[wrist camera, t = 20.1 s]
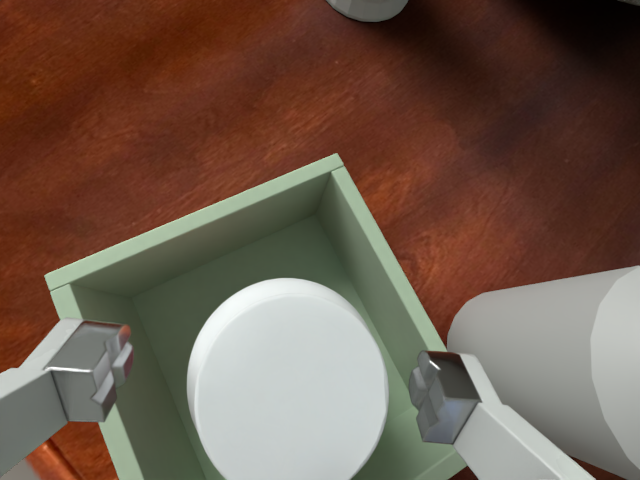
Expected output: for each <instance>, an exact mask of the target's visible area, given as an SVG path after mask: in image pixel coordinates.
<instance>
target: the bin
mask: <svg viewBox="0 0 640 480" xmlns="http://www.w3.org/2000/svg"><path fill="white" fill-rule="evenodd" d="M343 166H344V164H343V162H342V161H341V159H340V157H339V155H338V154H337V153H336V154H333V155H331V156H328V157H326V158H324V159H321V160H319V161H316V162H314V163H312V164H309V165H307V166H304V167H302V168H300V169H297V170H295V171H292V172H290V173H288V174H285V175H283V176H280V177H278V178H276V179H273V180H271V181H268V182H266V183H264V184H261V185H259V186H256V187H254V188H252V189H249V190H247V191H244V192H242V193H240V194H237V195H235V196H232V197H230V198H228V199H225V200H223V201H220V202H218V203H216V204H213V205H211V206H208V207H206V208H204V209H201V210H199V211H196V212H194V213H192V214H189V215H187V216H184V217H182V218H180V219H177V220H175V221H172V222H170V223H168V224H165V225H163V226H160V227H158V228H156V229H153V230H151V231H148V232H146V233H144V234H141V235H139V236H137V237H134V238H132V239H129V240H127V241H125V242H122V243H120V244H117V245H115V246H113V247H110V248H108V249H105V250H103V251H101V252H98V253H96V254H93V255H91V256H89V257H86V258H84V259H81V260H79V261H77V262H74V263H72V264H69V265H67V266H65V267H62V268H60V269H57V270H55V271H53V272H50V273H48V274H45V276H44V277H45V279H46V282H47V285H48V287H49V290H50V291H51V292H50V294H51V297H52V299H53V302H54V305H55V307H56V310H57V313H58V315H59V318H60V320H62V319H64V318H66V317H69V318H78V319H86V320H87V319H90V320H98V321H107V322H116V323H125V324H128V325H130V330H131V336H130V338H129V339H128V342H129V343H130V344H131V345H132V346H133V348H134V362H133V365H132V369H131V372H130V374H129V376H128V378H127V380H126V382H125V383H124V384H123V385H121V386H120V387H118V388H117V389H116V393H117V400H116V402H115V403H114V405H113V407H112V409H111V411H110V413H109V415H108V417H107V419H106V420H105V422H98V423H99V426H100V429H101V431H102V434H103V437H104V439H105V442H106V445H107V448H108V450H109V453H110V456H111V458H112V461H113V464H114V466H115V469H116V472H117V475H118V477H119V480H227V479H225V478H224V477H223V476H222V475H221V474H220V472H219V471H218V470H217V469H216V467H215V466H214V465H213V464H212V462H211V460H210V458H209V457H208V455H207V454H206V452H205V450H204V447H203V445H202V443H201V440H200V437H199V434H198V432H197V430H196V428H195V426H194V423H193V420H192V418H191V414H190V410H189V405H188V398H187V372H188V366H189V360H190V356H191V352H192V349H193V347H194V344H195V341H196V339H197V337H198V335H199V333H200V331H201V329H202V328H203V326H204V324H205V323H206V321H207V320H208V319H209V317H210V316H211V315H212V313H213V312H214V311H215V310H216V309H217V308H218V307H219V306H220V305H221V304H222V303H223V302H225V301H226V300H227V299H228V298H230V297H231V296H232V295H234V294H235V293H237V292H239V291H240V290H242V289H244V288H246V287H248V286H250V285H253V284H256V283H259V282H262V281H265V280H270V279H277V278H296V279H303V280H308V281H312V282H315V283H318V284H321V285H323V286H326V287H327V288H329V289H331V290H333V291H335V292H336V293H338V294H339V295H341V296H342V297H343V298H344V299H346V300H347V301H348V302H349V303H350V304H351V305H352V306H353V307H354V308H355V309H356V310H357V312H358V313H359V314H360V316H361V317H362V318H363V320H364V321H365V323H366V324H367V326H368V328H369V330H370V332H371V334H372V336H373V338H374V339H375V341H376V343H377V345H378V347H379V349H380V352H381V354H382V356H383V359H384V362H385V366H386V370H387V375H388V384H389V404H388V413H387V418H386V423H385V426H384V430H383V433H382V435H381V437H380V440H379V442H378V445H377V446H376V448H375V450H374V452H373V453H372V455H371V456H370V458H369V460H368V461H367V462H366V464H365V465H364V466H363V467H362V468H361V469H360V470H359V472H358V473H357V474H356V475H355V476H354V477H353V478H352V479H350V480H448V479H449V478H451V477H452V476H454V475H455V474H456V473H458V472H459V471H461V470H462V469H463V468H465V467H466V466H468V465H467V464H466V463H465V462H464V460H463V459H462V458H461V457H460V455H459V454H458V453H457V452H456V450H455V449H454V448H453V447H452V446H453V445H451V444H440V443H429V442H422V438H421V435H420V431H419V428H418V424H417V421H416V417H417V415H418V412H419V411H418V410H417V409H416V408H415V407H414V406H413V405H412V403H411V399H410V396H409V388H408V387H409V377H410V374H411V372H412V370H413V369H414V368H416V367H417V366H418V362H417V357H418V355H419V353H420V352H421V351H422V350H430V351H443V352H448V351H447V349H446V348H445V346H444V344H443V342H442V340H441V339H440V337H439V335H438V333H437V331H436V330H435V328H434V326H433V324H432V322H431V321H430V319H429V317H428V315H427V313H426V312H425V310H424V308H423V306H422V304H421V303H420V301H419V299H418V297H417V295H416V294H415V292H414V290H413V288H412V286H411V285H410V283H409V281H408V279H407V278H406V276H405V274H404V272H403V270H402V269H401V267H400V265H399V263H398V261H397V260H396V258H395V256H394V254H393V252H392V251H391V249H390V247H389V245H388V243H387V242H386V240H385V238H384V236H383V234H382V233H381V231H380V229H379V227H378V225H377V224H376V222H375V220H374V218H373V216H372V215H371V213H370V211H369V209H368V207H367V206H366V204H365V202H364V200H363V198H362V197H361V195H360V193H359V191H358V190H357V188H356V186H355V184H354V182H353V181H352V179H351V177H350V175H349V173H348V172H347V170H346V168H345V167H343Z"/></svg>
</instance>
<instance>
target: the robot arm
mask: <svg viewBox="0 0 640 480" xmlns="http://www.w3.org/2000/svg"><path fill="white" fill-rule="evenodd" d="M130 336H131V330H130V325H128V324H125V323H116V322H107V321H98V320H90V319H87V320H86V319H78V318H69V317H66V318H64V319H62V320H60V321H59V322H58V323H57V324H56V326H55V327H54V328H53V329H52V330H51V331H50V333H49V334H48V335H47V336H46V337H45V338H44V339H43V341H42V342H41V343H40V344H39V345H38V346H37V347H36V349H35V350H34V351H33V352H32V353H31V354H30V355H29V357H28V358H27V359H26V360H25V361H24V362H23V364H22V365H21V366H20V367H19V368H10V369H8V370H7V371H5V372H3V373H1V374H0V477H2V476H3V475H4V474H5V473H7V472H8V471H9V470H10V469H11V468H12V467H14V466H15V465H16V464H17V463H19V462H20V461H21V460H23V459H24V458H25V457H26V456H27V455H29V454H30V453H31V452H32V451H34V450H35V449H36V448H37V447H39V446H40V445H41V444H42V443H43V442H45V441H46V440H47V439H48V438H50V437H51V436H52V435H53V434H55V433H56V432H57V431H58V430H59V429H61V428H62V427H63V426H64V425H66V424H67V421H82V422H105V420H106V419H107V417H108V415H109V413H110V411H111V409H112V407H113V405H114V403H115V402H116V400H117V393H116V389H117V388H118V387H120V386H121V385H123V384H124V383H125V382H126V380H127V378H128V376H129V374H130V372H131V369H132V365H133V362H134V348H133V346H132V345H131V344H130V343H129V342H128V339H129V338H130ZM417 362H418V366H417V367H416V368H414V369H413V370H412V372H411V374H410V377H409V387H408V388H409V396H410V399H411V403H412V405H413V406H414V407H415V408H416V409H417V410H418V411H419V412H418V415H417V417H416V421H417V424H418V428H419V431H420V435H421V438H422V442H429V443H440V444H451V445H453V446H452V447H453V448H454V449H455V450H456V452H457V453H458V454H459V455H460V457H461V458H462V459H463V460H464V462H465V463H466V464H467V465H468V467H469V468H470V469H471V470H472V472H473V473H474V474H475V475H476V477H477V478H478V479H479V480H596V479H595V478H594V477H593V476H592V475H590V474H589V473H588V472H587V471H586V470H584V469H583V468H582V467H581V466H580V465H578V464H577V463H576V462H575V461H574V460H572V459H571V458H570V457H569V456H568V455H567V454H565V453H564V452H563V451H562V450H561V449H559V448H558V447H557V446H556V445H555V444H553V443H552V442H551V441H550V440H549V439H547V438H546V437H545V436H544V435H543V434H541V433H540V432H539V431H538V430H537V429H536V428H534V427H533V426H532V425H531V424H530V423H528V422H527V421H526V420H525V419H524V418H522V417H521V416H520V415H519V414H518V413H516V412H515V411H514V410H513V409H512V408H511V407H509V406H508V405H503V404H502V403H501V401H500V399H499V397H498V395H497V393H496V392H495V390H494V388H493V386H492V384H491V382H490V380H489V378H488V377H487V375H486V373H485V371H484V369H483V367H482V365H481V363H480V362H479V360H478V358H477V357H476V356H475V355H474V354H467V353H454V352H443V351H430V350H422V351H421V352H420V353H419V355H418V357H417Z"/></svg>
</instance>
